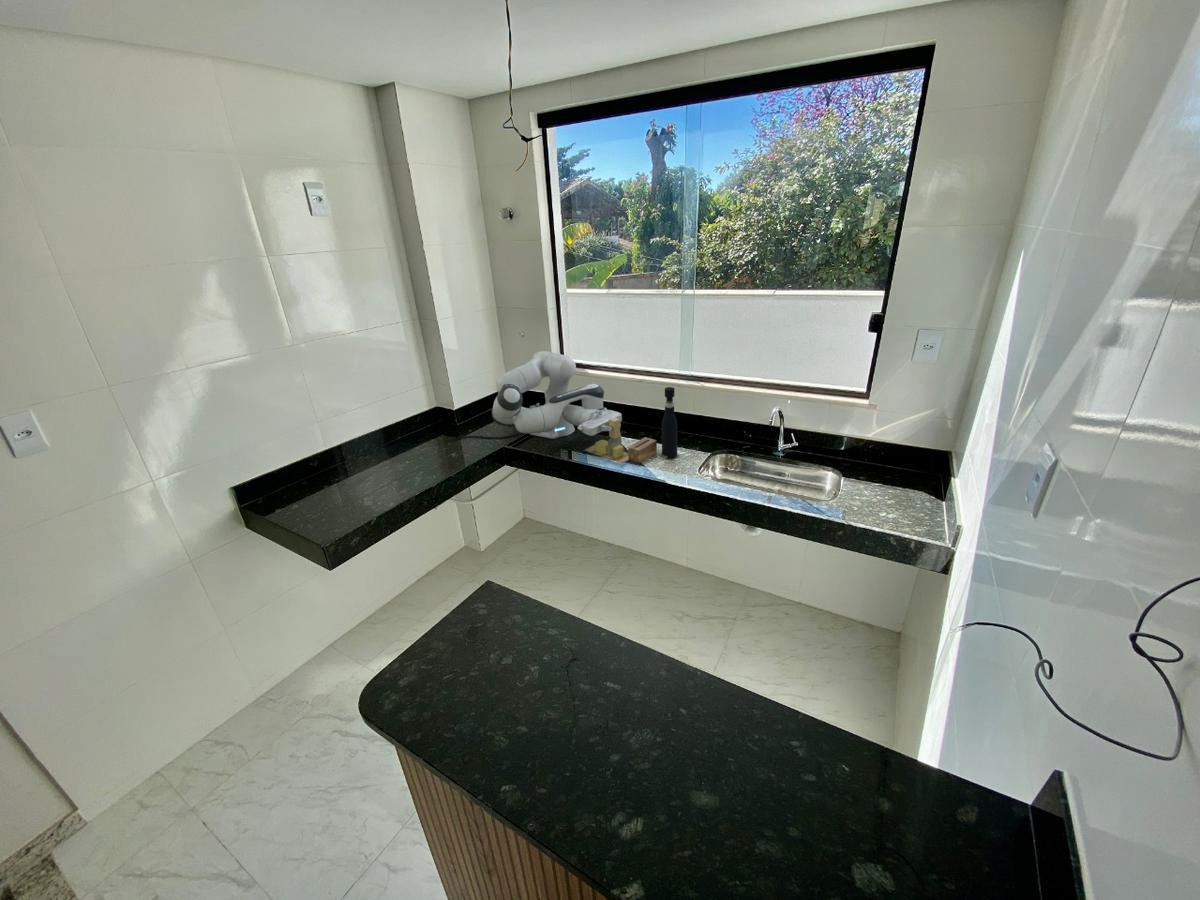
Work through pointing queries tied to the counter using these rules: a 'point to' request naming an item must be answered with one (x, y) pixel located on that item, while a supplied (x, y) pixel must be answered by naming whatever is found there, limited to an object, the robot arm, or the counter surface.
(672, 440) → the dark water bottle
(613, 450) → the butter pat
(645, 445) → the knife block
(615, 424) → the knife
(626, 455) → the board
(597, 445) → the butter
